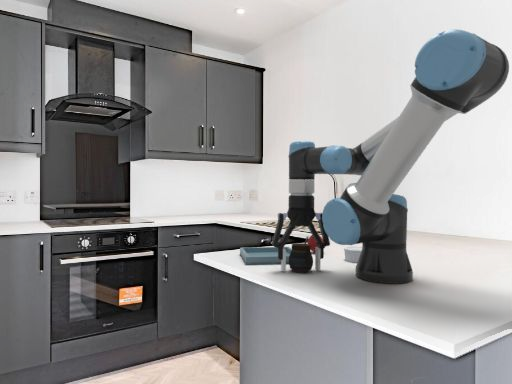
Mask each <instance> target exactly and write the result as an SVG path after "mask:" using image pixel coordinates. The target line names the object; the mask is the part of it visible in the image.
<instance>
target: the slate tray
mask: <svg viewBox="0 0 512 384" xmlns="http://www.w3.org/2000/svg"><path fill="white" fill-rule="evenodd" d="M283 248H285V249H286V265H289V261H288V260H289V256H290V253H291V250H292V247H290V246H284V247H283ZM239 255H240V257H241V259H242V260H243V262H244V264H245V265H246V266H256V265H257V266H259V265H260V266H261V265H263V266H264V265H268V266H269V265H281V260H279V259H278V248H277V247H274V246H261V247H260V246H257V247H255V246H252V247H250V246H249V247H240V248H239Z"/></svg>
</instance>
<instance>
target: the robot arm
mask: <svg viewBox="0 0 512 384" xmlns="http://www.w3.org/2000/svg"><path fill="white" fill-rule="evenodd" d="M414 67H415V69H414V75H415V76H414V79H413V81H412V82H411V84H410V85H409V86H410V91H411V98H410V99H409V100H408V101H407V104H406V105H405V107H404V108H403V110H402V111H401V112H400V114H399V116H398V117H396V118H394V119H393V120H391V122H389V123H388V124H386V125H385V126H384V127H382V128H381V129H379V130H378V131H376V132H375V133H373V134H372V135H371V136H370V137H368V138H366V140H364V141H363V142H361V143H360V144H358V145H357V146H355V147H353V148H349V147H346V146H344V145H329V146H321V147H319V146H318V147H316V145H315V142H314V141H310V140H309V141H307V140H301V141H299V140H298V141H297V140H295V141H292V142H291V143H290V144H289V148H288V149H289V151H288V193H289V195H288V209H287V212H278V213H277V222H276V223H277V224H276V227H275V230H274V234H273V237H272V241H271V245H272V247H277V248H278V259H279V260H281V264H280V270H281V271H282V272H284V273H286V269H287V266H286V265H287V264H286V249H285V248H283V247H286V246H285V245H286V244H287V241H289V238H290V237H291V234H292V232H293V231H294V230H295V228H296V227H301V226H302V227H307V229H308V230H309V232H310V233H311V235H312V236H313V237H314V239H315V241H316V243H317V245H318V247H315V253H314V254H315V255H314V258H315V260H314V262H315V263H314V268H315V271H317V272H320V271H321V260H322V259H324V253H325V252H324V249H326V247H329V246H331V241H332V242H334V243H335V244H338V245H341V246H355V245H358V244H362V245H361V246H362V251H361V254H360V256H359V259H358V262H357V263H356V265H355V277H357V278H358V279H361V280H364V281H366V282H367V281H368V282H373V283H380V284H405V283H406V284H407V283H410V282H412V281H413V279H414V271H413V268H412V264H411V261H410V258H409V255H408V252H407V240H408V239H407V238H408V237H407V236H408V234H407V232H408V211H409V210H408V201H407V198H406V197H405V196H404V195H400V194H394V193H395V192H396V191H397V189H398V188H399V187H400V185H401V183H402V182H403V181H404V179H405V178H406V176H407V175H408V174H409V172H410V171H411V169H412V168H413V166H414V165H415V164H416V163H417V161H418V159H419V158H420V157H421V155H422V154H423V153H424V151H425V149H427V146H428V145H430V143H431V141H432V140H433V139H434V137H435V136H436V134H437V133H438V132H439V130H440V128H441V127H442V126H443V124H444V123H445V122H446V121H448V120H450V119H451V118H453V117H454V116H456V115H457V114H460V115H461V114H463V115H465V114H466V115H467V113H469V112H470V111H472V110H474V109H476V108H477V107H478V106H480V105H482V104H483V103H485V102H486V101H487V100H489V99H490V98H492V97H494V95H496V94H497V93H498V92H499V91H500V90H501V89H502V87H503V86H504V84H505V83H506V81H507V78H508V76H509V72H510V63H509V59H508V57H507V55H506V53H505V51H503V49H502V48H500V47H499V46H497V45H496V44H493V43H491V42H490V41H487V40H486V39H484V38H482V37H480V36H479V35H477V34H476V33H473V32H469V31H466V30H461V29H457V28H456V29H447V30H443V31H442V32H439V33H437V34H435V35H433V36H432V37H431V38H430V39H428V40H427V41H426V42H425V43H424V44H423V45H422V47H421V48H420V49H419V51H418V53H417V55H416V57H415V61H414ZM316 175H352V176H353V175H355V176H360V177H359V179H358V180H357V182H353V183H349V184H348V185H347V186H346V187H345V189H344V190H343V192H342V194H341V196H340V197H335V198H332V199H331V200H330V199H329V201H327V202H326V204H325V205H324V207H323V210H322V212H316V211H315V196H314V195H313V194H315V179H316V178H315V176H316ZM286 218H288V220H289V223H288V226H287V228H286V229H285V231H284V233H283V235H282V237H281V238H280V236H281V234H282V229H283V227H284V221H286ZM315 218H316V220H317V223H318V226H319V230H320V234H321V235H320V234H319V232H318V231H317V229H316V227H315V225H314V223H313V221H314V219H315ZM317 232H318V233H317ZM319 235H320V236H321V237H322V239H323V242H322V241H321V239H320V237H319ZM330 240H331V241H330Z"/></svg>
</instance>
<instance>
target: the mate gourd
mask: <svg viewBox="0 0 512 384" xmlns="http://www.w3.org/2000/svg"><path fill="white" fill-rule="evenodd" d="M309 237H310V236H306V238H305V241H304V242H303V243H302V242H300V243H299V242H296V243H295V242H294V243H292V244H291V249H292V250H291V253H290V256H289V260H288V261H289V264H288V265H289V268H290V270H291V271H292V272H294V273H301V274H303V273H308V272H309V271H312V268H313V267H314V266H313V265H314V258H313V255H312V251H311V250H310V249H311V248H310V244H307V242H308V239H309Z"/></svg>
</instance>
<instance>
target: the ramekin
mask: <svg viewBox="0 0 512 384" xmlns="http://www.w3.org/2000/svg"><path fill="white" fill-rule="evenodd" d="M343 250H344V259H345V261H346V262H350V263H355V264H357V262H358V259H359V256H360V254H361V251H362V245H360V246H359V245H346V246H345V247H343Z"/></svg>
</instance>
